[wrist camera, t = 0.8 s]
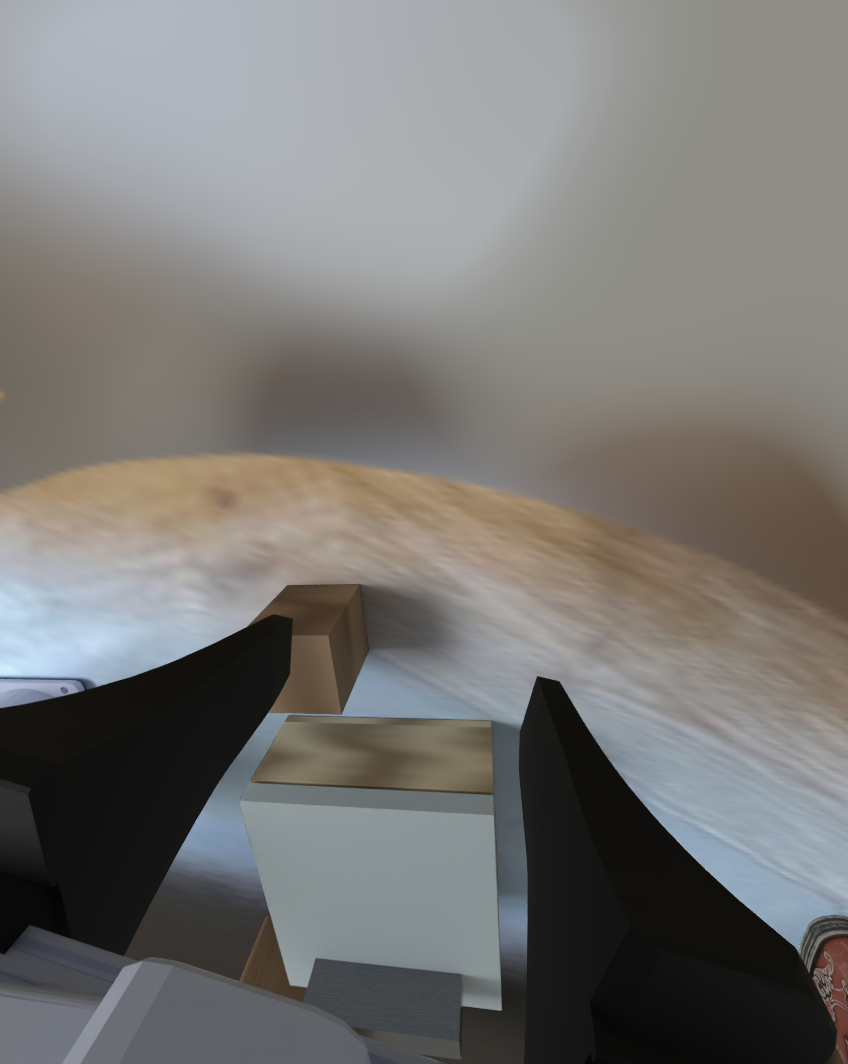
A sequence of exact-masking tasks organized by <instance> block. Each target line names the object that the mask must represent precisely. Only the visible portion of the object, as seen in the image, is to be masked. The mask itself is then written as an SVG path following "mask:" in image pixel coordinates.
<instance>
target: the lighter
mask: <svg viewBox="0 0 848 1064" xmlns="http://www.w3.org/2000/svg"><path fill="white" fill-rule="evenodd" d="M799 955H800V957H801V958H802V960H803V962H804V964H805V966H806V968H807V969H808V971H809V973H810V975H811V977H812V979H813V981H814V983H815V985H816V987H817V989H818V991H819V993H820V995H821V997H822V999H823V1001H824V1003H825V1005H826V1007H827V1009H828V1011H829V1013H830V1015H831V1017H832V1019H833V1021H834V1024H835V1026H836V1028H837V1043H836V1049H837V1051H838V1053H839V1055H840V1057H841V1059H842V1060H843V1062H844V1064H848V918H846V917H843V916H834V915H833V916H824V917H820V918H817V919H815V920H813V921H812V922H811V923H810V924H809V925H808V927H807V929H806V932H805V934H804V937H803V939H802V941H801V946H800V950H799Z"/></svg>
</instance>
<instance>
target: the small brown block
mask: <svg viewBox="0 0 848 1064" xmlns="http://www.w3.org/2000/svg"><path fill="white" fill-rule="evenodd" d="M273 614H276V615H280V616H284V617H288V618H293V627H292V646H291V665H290V675H289V677H288V679H287V681H286V683H285V685H284V687H283V689H282V691H281V693H280V694H279V696H278V698H277V700H276V701H275V703H274V705H273V706H272V708H271V709H270V711H269V712H268V713H304V714H342V712H343V710H344V707H345V705H346V703H347V700H348V698H349V696H350V693H351V691H352V689H353V686H354V684H355V682H356V679H357V677H358V675H359V672H360V670H361V668H362V665H363V663H364V661H365V658H366V656H367V654H368V651H369V647H368V640H367V633H366V626H365V618H364V611H363V604H362V597H361V589H360V584H338V585H287V586H286V587H285V588H284V589H283V590H282V591H281V592H280V593H279V595H278V596H277V597H276V598H275V599H274V600H273V601H272V602H271V603H270V604H269V605H268V606H267V607H266V608H265V609H264V610H263V611H262V612H261V613H260V614H259V615H258V616H257V617H256V618H255V619H254V620H253V621H252V622H251V623H250V624H249V625H248V626H250V625H252V624H254V623H256V622H258V621H260V620H262V619H264V618H266V617H268V616H270V615H273ZM248 626H247V627H248Z"/></svg>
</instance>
